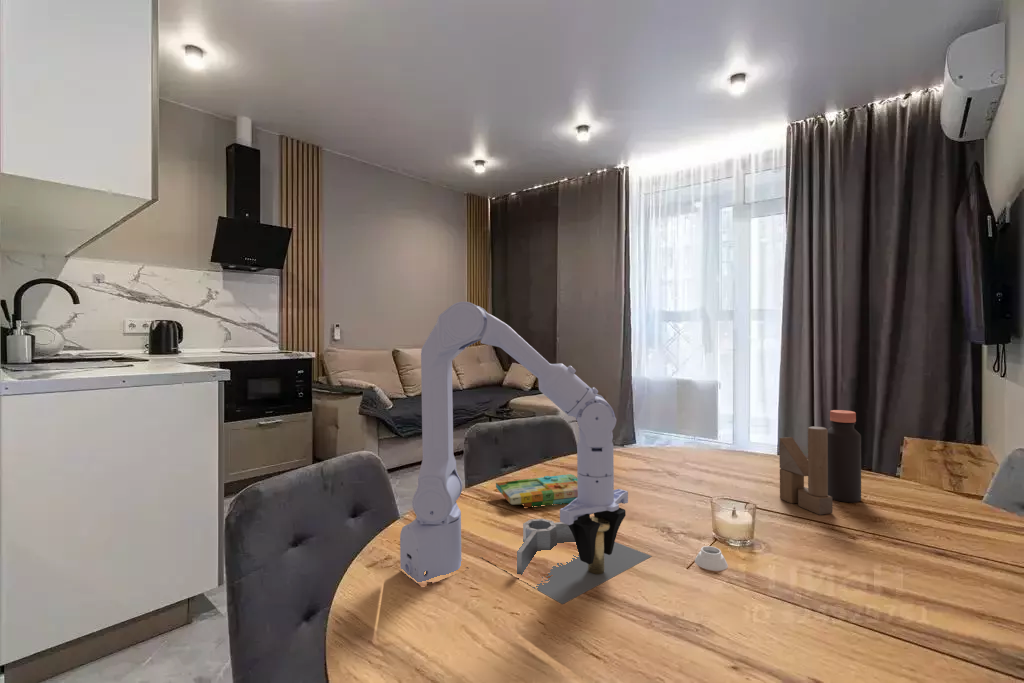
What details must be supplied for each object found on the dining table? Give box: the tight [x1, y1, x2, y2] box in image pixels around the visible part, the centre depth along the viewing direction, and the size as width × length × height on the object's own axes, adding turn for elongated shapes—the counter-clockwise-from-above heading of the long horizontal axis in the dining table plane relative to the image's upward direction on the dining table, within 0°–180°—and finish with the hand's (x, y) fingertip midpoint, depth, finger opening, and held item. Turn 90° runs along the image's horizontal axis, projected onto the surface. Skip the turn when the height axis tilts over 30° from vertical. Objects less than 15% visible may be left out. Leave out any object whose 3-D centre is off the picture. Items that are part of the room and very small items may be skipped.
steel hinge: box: [517, 518, 575, 575], centre depth 84 cm, size 18×13×4 cm
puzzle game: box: [495, 473, 578, 507], centre depth 112 cm, size 12×5×20 cm
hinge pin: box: [588, 515, 610, 574], centre depth 77 cm, size 4×4×8 cm
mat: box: [532, 541, 653, 605], centre depth 82 cm, size 22×20×1 cm
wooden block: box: [778, 426, 834, 516], centre depth 106 cm, size 4×11×18 cm, turn 14°
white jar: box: [694, 545, 729, 572], centre depth 79 cm, size 5×3×5 cm
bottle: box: [827, 409, 862, 503], centre depth 111 cm, size 7×7×20 cm
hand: (596, 557), depth 77 cm, fingers closed on hinge pin, 4 cm apart
